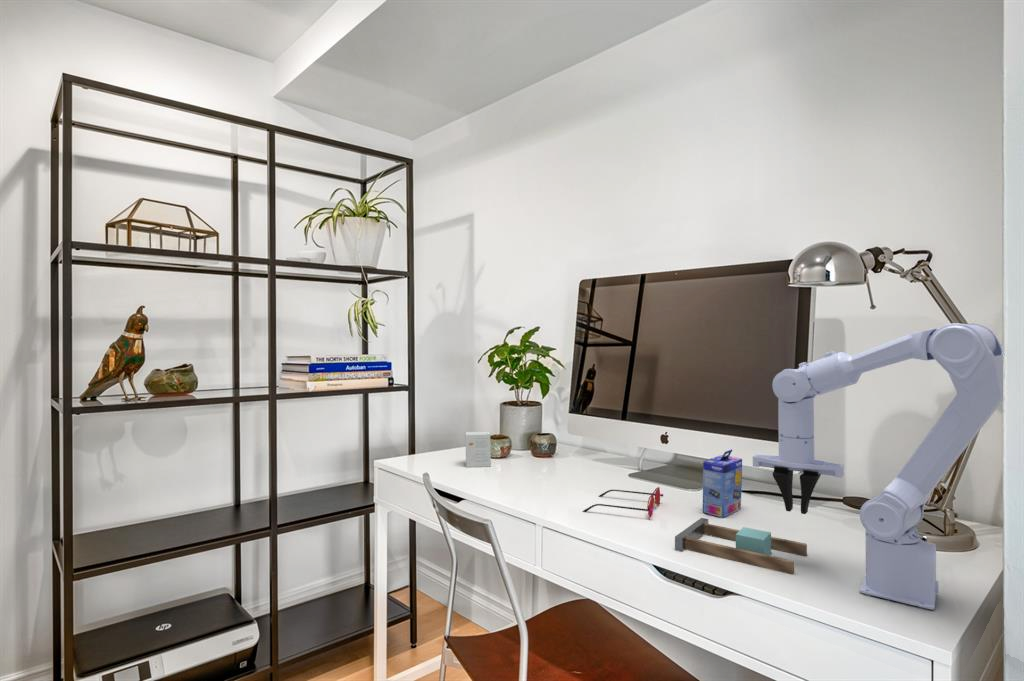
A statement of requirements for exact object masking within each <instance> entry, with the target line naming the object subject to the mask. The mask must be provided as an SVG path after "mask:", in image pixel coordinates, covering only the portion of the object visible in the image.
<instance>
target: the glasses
mask: <svg viewBox="0 0 1024 681" xmlns="http://www.w3.org/2000/svg"><path fill="white" fill-rule="evenodd" d="M610 492H621V493H631V494H638V495H639V494H640V495H650V496H649V498H648V499H647V508H638V507H630V506H622V505H614V504H613V505H612V504H603V503H595V504H592V505H591V506H589V507H587V508H585V509H583V510H582V511H581V512H582V513H586V512H588V511H589V510H591V509H592V508H594V507H597V506H602V507H608V508H609V507H611V508H619V509H624V510H633V511H644V512H647V513H648V516H649V517H650V518H652V517H651V516H653V512H654V508H655V505H657V506H660V505H659V504H661V497H662V498H663V497H664V494H663V493H661V490H660V486H658V487H656V488H655V490H654V491H653V492H645V491H644V492H643V491H642V492H641V491H633V490H632V491H631V490H624V489H623V490H621V489H609V490H607V491H604V492H603V493H600V494H599V495H598V496H597V497H600V498H601V497H603V496H605V495H607V493H610Z"/></svg>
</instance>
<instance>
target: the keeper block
mask: <svg viewBox="0 0 1024 681" xmlns="http://www.w3.org/2000/svg"><path fill="white" fill-rule="evenodd" d="M739 530H740V531H739V532H738V533H737V534H736V541H735V548H738V549H743V550H747V551H752V552H756V553H761V554H765V555H770V556H771V553H772V549H771V537H772V532H770V531H765V530H761V529H755V528H750V527H745V526H743V527H742V528H741V529H739Z"/></svg>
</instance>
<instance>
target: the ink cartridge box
mask: <svg viewBox="0 0 1024 681" xmlns="http://www.w3.org/2000/svg"><path fill="white" fill-rule="evenodd" d="M732 452H733V449H729V450H727V451H724V453H722V455H718V456H715V457H713V458H712V457H711V458H709V459H706V460H704V461H703V463H702V513H703V514H706V513H707V515H711V516H714V517H717V516H718V517H717V518H721V517H722V518H721V519H724V518H726V517H728V516H730V515H732V514H734V513H736V512H738V511H740V510H741V509H742V492H743V491H742V488H743V487H742V486H743V485H742V483H743V458H739V457H737V456H731V453H732Z"/></svg>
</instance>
